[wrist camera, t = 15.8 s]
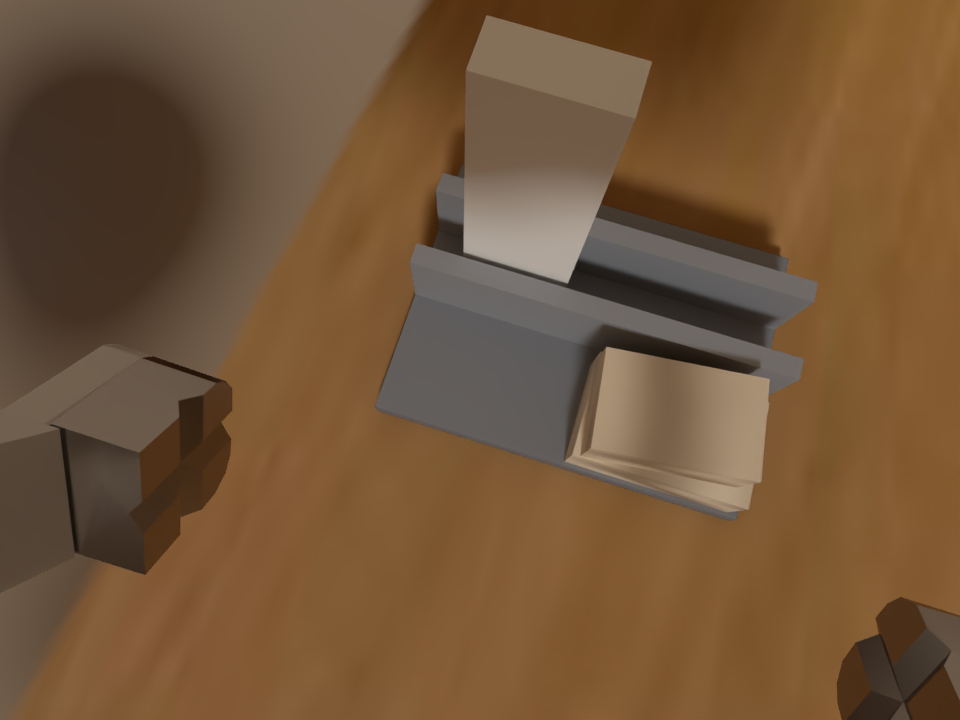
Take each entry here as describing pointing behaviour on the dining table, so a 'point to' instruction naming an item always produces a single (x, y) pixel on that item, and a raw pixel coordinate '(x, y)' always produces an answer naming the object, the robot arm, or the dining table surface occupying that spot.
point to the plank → (541, 144)
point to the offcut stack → (673, 427)
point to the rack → (578, 328)
